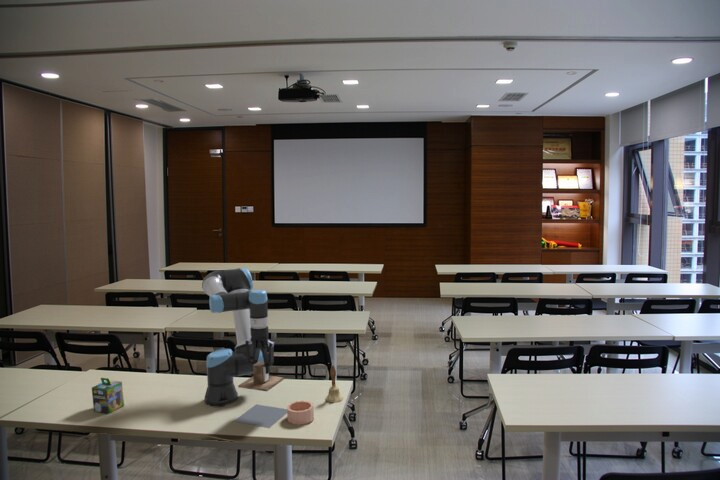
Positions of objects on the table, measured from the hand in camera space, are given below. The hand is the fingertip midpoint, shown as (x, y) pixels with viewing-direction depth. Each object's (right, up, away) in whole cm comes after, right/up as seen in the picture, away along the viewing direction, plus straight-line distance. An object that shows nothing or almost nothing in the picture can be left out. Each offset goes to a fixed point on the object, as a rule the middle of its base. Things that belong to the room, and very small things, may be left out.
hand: (261, 379), depth 213 cm
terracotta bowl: (+17, -17, -2) cm, 24 cm away
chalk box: (-73, -17, +14) cm, 76 cm away
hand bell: (+30, -15, +19) cm, 39 cm away
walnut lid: (0, -2, 0) cm, 2 cm away
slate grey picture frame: (0, -17, +2) cm, 17 cm away
